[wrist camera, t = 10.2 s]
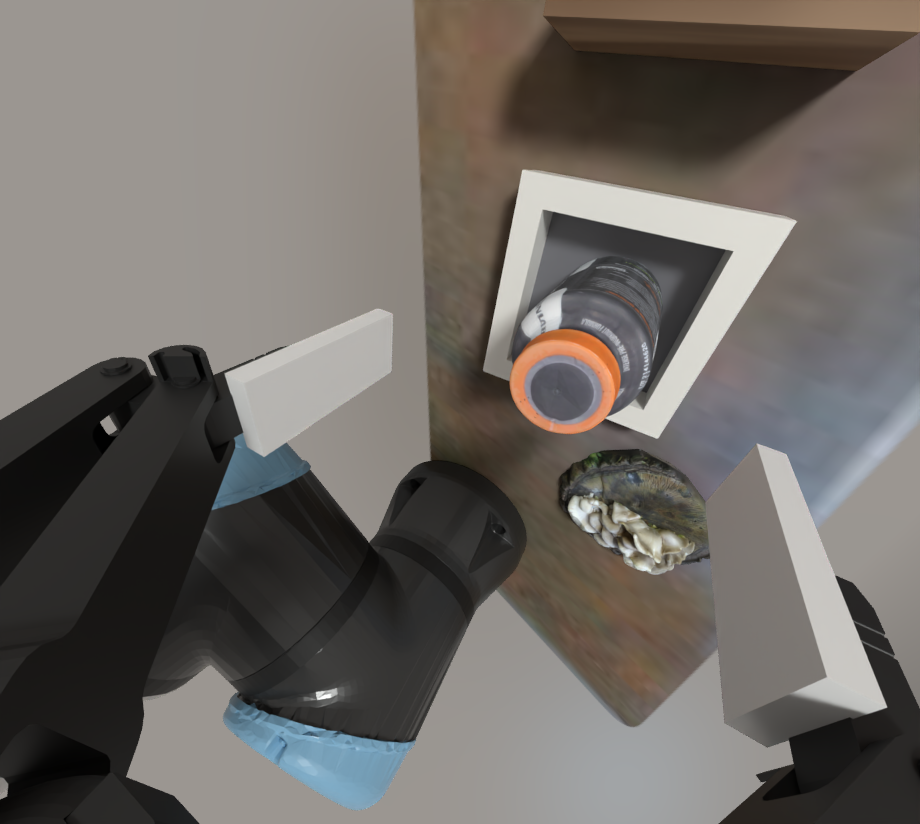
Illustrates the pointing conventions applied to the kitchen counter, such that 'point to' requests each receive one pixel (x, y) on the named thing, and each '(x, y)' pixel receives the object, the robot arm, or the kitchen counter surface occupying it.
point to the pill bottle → (587, 346)
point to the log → (637, 508)
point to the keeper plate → (656, 247)
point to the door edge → (740, 29)
